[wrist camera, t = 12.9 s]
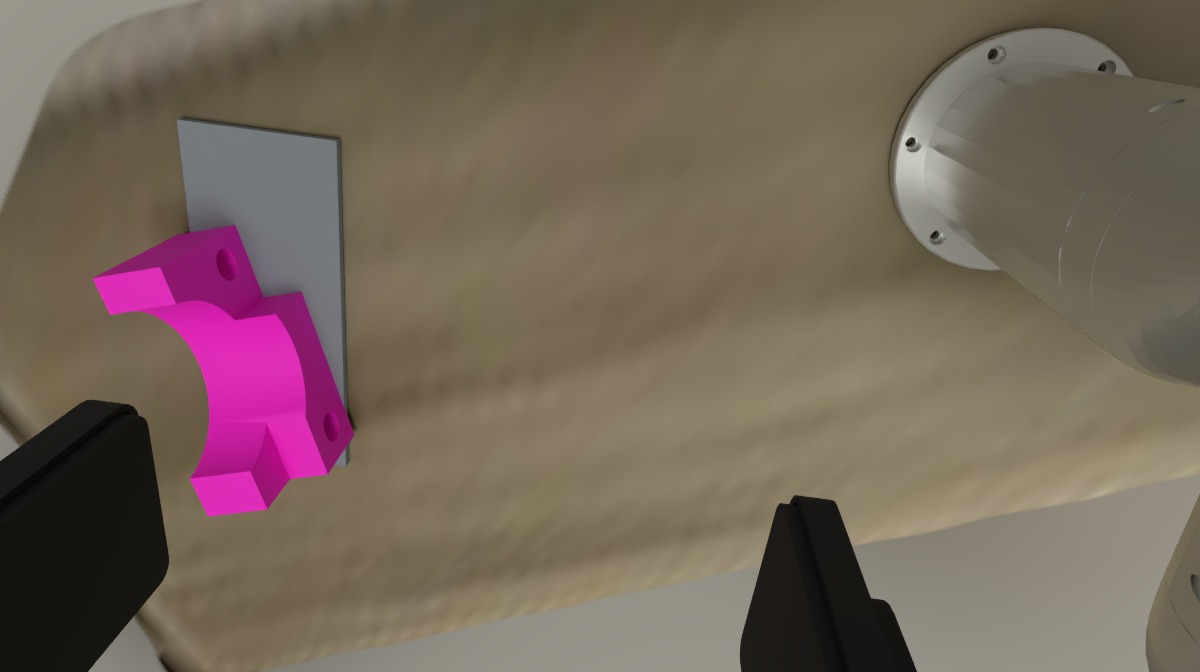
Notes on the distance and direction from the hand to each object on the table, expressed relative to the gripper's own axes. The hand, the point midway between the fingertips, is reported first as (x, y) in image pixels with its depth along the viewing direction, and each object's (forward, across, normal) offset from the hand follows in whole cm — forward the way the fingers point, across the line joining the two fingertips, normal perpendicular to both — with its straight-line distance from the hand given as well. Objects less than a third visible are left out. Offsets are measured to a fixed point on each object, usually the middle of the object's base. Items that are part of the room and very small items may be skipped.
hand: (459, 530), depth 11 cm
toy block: (+33, +19, +15) cm, 41 cm away
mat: (+33, +19, +13) cm, 40 cm away
